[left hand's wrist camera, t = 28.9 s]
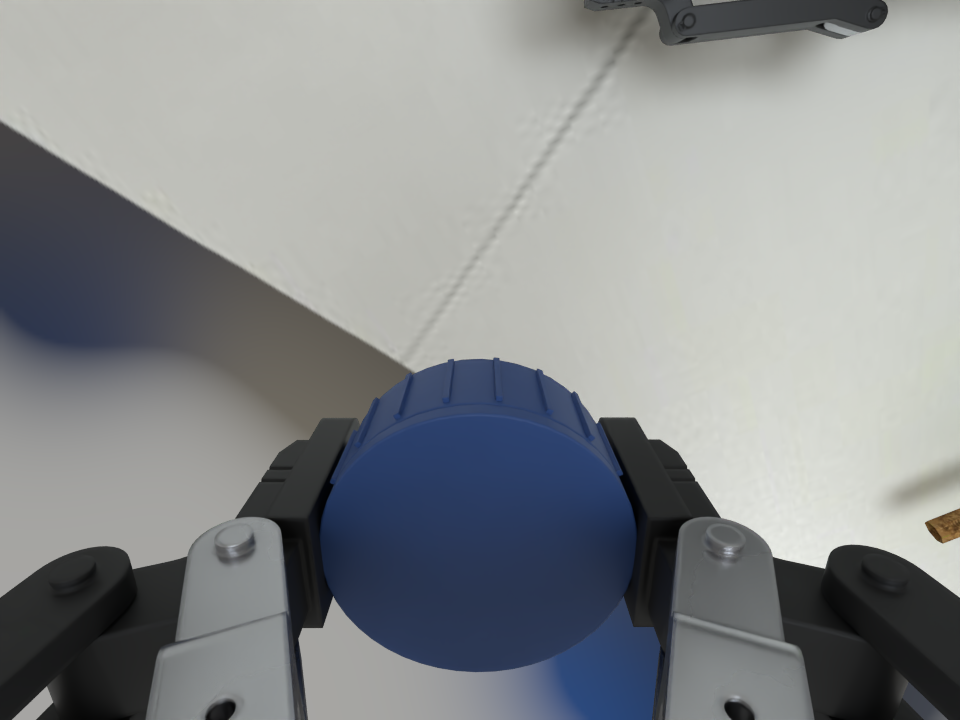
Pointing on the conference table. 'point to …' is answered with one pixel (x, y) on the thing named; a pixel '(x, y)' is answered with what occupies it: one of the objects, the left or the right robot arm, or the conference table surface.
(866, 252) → the conference table surface
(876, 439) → the conference table surface
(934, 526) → the decorative tree
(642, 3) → the right robot arm
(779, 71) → the conference table surface
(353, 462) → the lid
